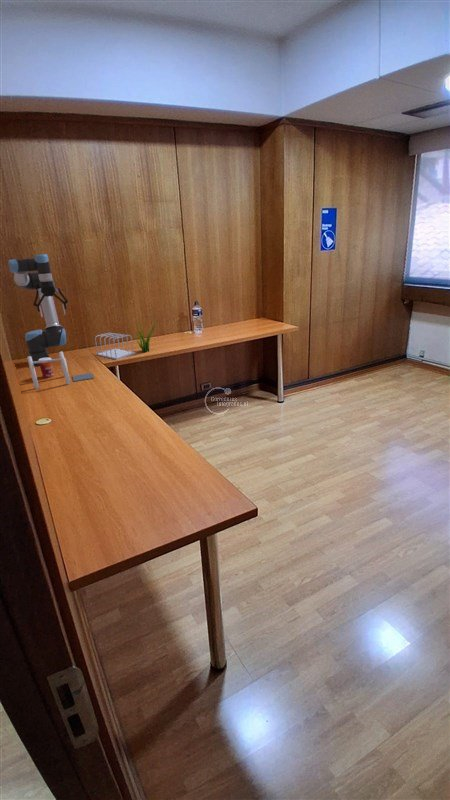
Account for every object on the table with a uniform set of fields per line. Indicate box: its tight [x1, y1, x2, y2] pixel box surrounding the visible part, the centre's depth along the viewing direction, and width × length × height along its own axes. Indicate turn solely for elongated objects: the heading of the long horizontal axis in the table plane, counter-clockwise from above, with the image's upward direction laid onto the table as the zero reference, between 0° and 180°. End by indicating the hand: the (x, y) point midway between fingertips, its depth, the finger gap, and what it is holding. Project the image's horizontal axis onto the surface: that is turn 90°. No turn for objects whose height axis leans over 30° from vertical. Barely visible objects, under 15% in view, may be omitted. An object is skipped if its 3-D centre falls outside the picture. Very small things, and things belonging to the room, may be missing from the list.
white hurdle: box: [26, 351, 72, 390], centre depth 239 cm, size 20×21×16 cm
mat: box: [72, 372, 95, 383], centre depth 248 cm, size 12×12×1 cm
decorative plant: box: [133, 309, 157, 353], centre depth 299 cm, size 18×30×15 cm
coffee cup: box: [39, 356, 55, 379], centre depth 253 cm, size 8×8×15 cm
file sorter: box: [94, 332, 136, 361], centre depth 295 cm, size 25×17×16 cm
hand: (53, 315), depth 252 cm, fingers open, 13 cm apart
